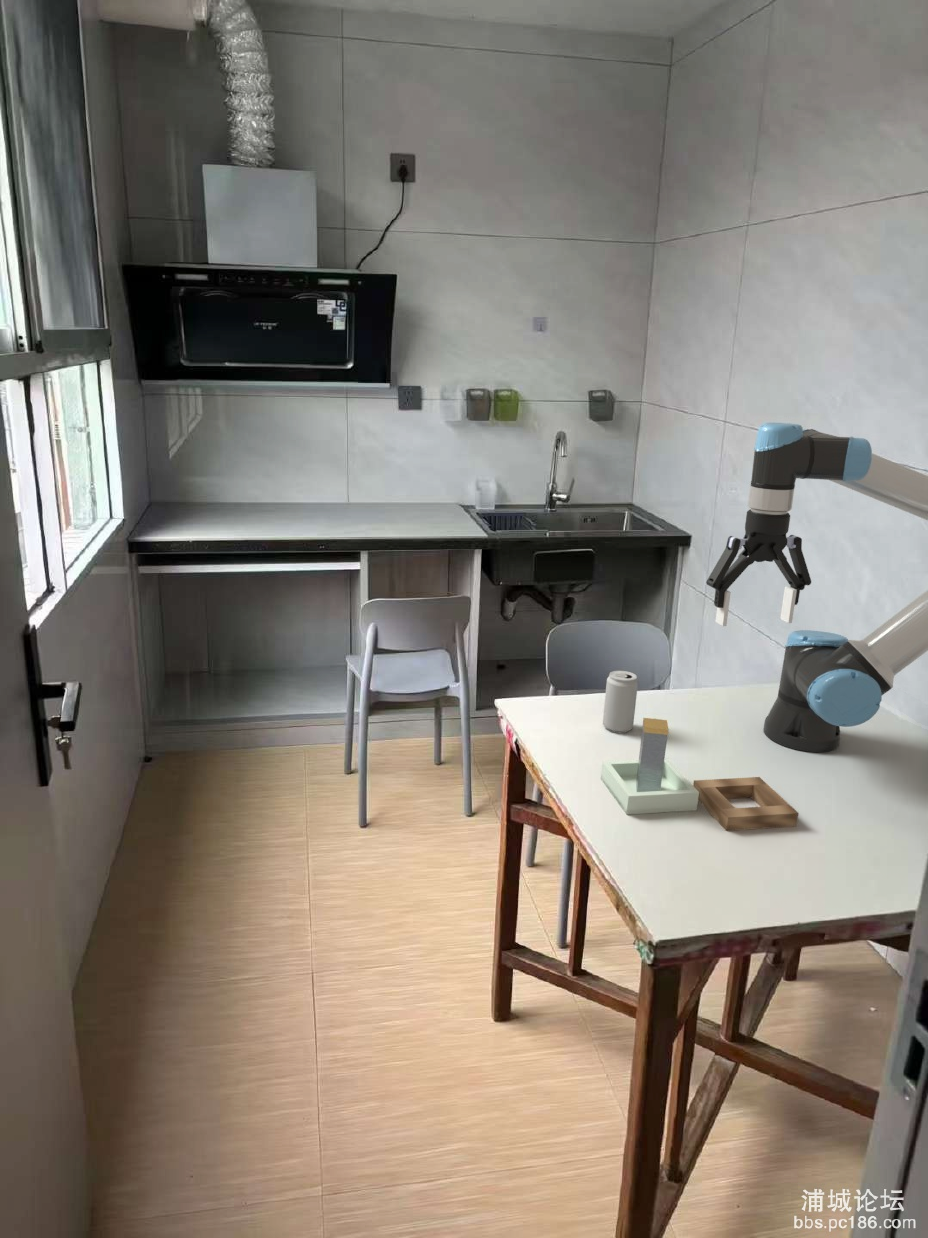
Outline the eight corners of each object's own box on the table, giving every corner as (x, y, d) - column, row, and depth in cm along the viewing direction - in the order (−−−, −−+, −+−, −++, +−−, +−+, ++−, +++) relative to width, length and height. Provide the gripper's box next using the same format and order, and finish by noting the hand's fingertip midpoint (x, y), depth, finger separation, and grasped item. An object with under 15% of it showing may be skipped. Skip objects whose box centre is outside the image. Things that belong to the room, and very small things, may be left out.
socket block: (757, 789, 160) (759, 776, 159) (796, 826, 148) (798, 813, 147) (692, 792, 157) (693, 780, 157) (726, 830, 145) (728, 817, 144)
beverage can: (632, 736, 180) (638, 682, 176) (601, 732, 181) (606, 678, 177) (632, 723, 186) (639, 671, 182) (602, 720, 187) (608, 667, 183)
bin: (665, 775, 163) (668, 758, 162) (696, 810, 151) (699, 792, 150) (600, 778, 161) (602, 761, 160) (626, 814, 149) (628, 796, 148)
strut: (635, 783, 158) (643, 717, 154) (658, 785, 158) (666, 720, 154) (636, 793, 154) (644, 727, 150) (659, 796, 154) (668, 729, 150)
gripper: (817, 506, 163) (801, 614, 169) (696, 507, 157) (683, 619, 164) (842, 513, 156) (824, 625, 162) (716, 515, 150) (702, 631, 157)
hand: (753, 622), depth 163 cm, fingers open, 13 cm apart
